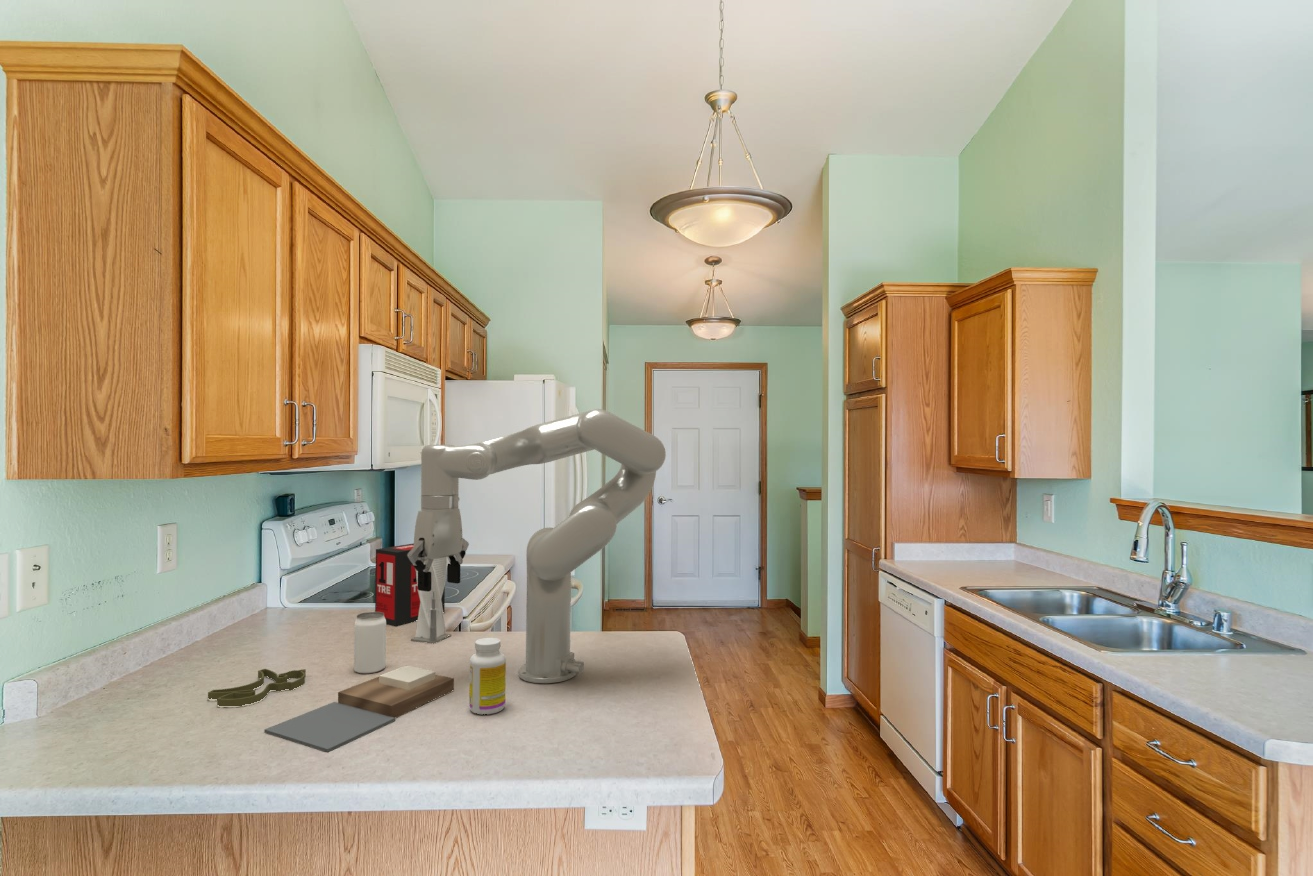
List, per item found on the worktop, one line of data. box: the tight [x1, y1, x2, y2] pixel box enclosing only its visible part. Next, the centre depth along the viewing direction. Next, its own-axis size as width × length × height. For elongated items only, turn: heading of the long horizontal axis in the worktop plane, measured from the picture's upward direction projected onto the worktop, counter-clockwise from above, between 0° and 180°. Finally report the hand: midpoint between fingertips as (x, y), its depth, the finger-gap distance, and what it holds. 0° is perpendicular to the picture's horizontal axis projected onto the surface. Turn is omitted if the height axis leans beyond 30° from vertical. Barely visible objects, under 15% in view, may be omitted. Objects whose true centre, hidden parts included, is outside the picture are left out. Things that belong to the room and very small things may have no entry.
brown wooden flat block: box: [337, 674, 455, 719], centre depth 135 cm, size 14×16×2 cm
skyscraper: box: [410, 557, 452, 645], centre depth 175 cm, size 8×8×28 cm
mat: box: [263, 701, 396, 753], centre depth 121 cm, size 16×14×1 cm
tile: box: [378, 665, 437, 690], centre depth 137 cm, size 8×7×2 cm
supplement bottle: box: [468, 637, 507, 715], centre depth 130 cm, size 7×7×13 cm
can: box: [353, 611, 387, 675], centre depth 151 cm, size 6×6×12 cm
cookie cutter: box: [207, 668, 307, 706], centre depth 138 cm, size 18×12×2 cm, turn 167°
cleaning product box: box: [374, 542, 446, 628], centre depth 194 cm, size 16×9×20 cm, turn 149°
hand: (439, 586), depth 144 cm, fingers open, 7 cm apart
